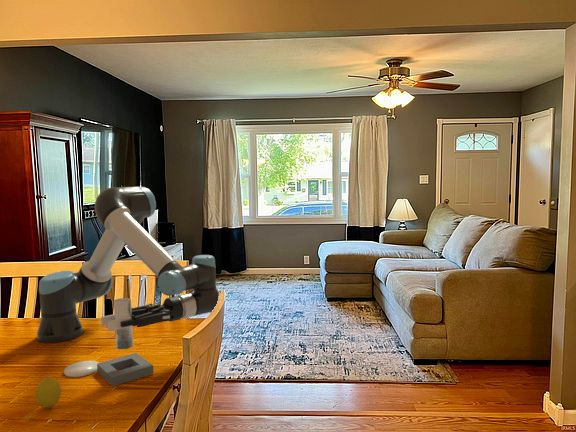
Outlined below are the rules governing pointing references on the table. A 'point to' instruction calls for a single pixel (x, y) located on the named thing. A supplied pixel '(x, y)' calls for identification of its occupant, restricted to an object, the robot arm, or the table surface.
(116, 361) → the pocket board
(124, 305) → the metal part
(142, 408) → the table surface
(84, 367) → the coaster
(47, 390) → the lemon
